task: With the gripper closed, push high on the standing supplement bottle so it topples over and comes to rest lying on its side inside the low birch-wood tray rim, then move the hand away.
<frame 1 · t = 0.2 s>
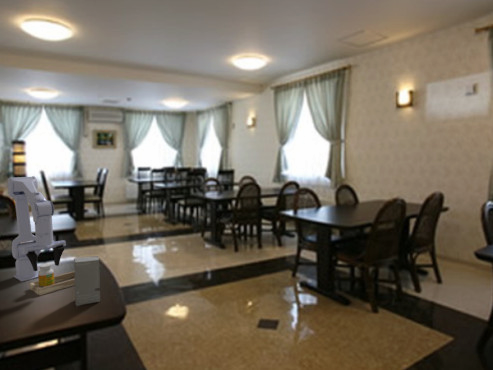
hand: (46, 267, 131), 10 cm above the table, tool pointing down, fingers open, 7 cm apart
supplement bottle: (47, 289, 136), resting in tray
tray: (60, 284, 140), on the table
skincare box: (88, 301, 125), on the table
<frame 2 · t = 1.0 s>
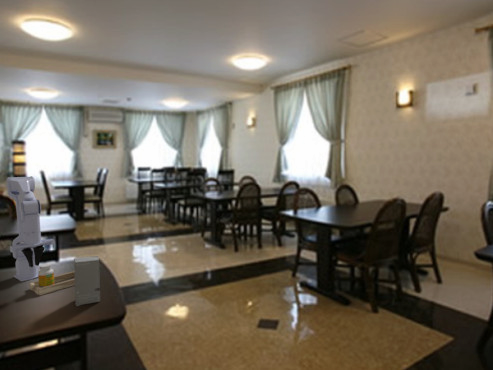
hand: (34, 265, 132), 10 cm above the table, tool pointing down, fingers closed
nothing on the table moved.
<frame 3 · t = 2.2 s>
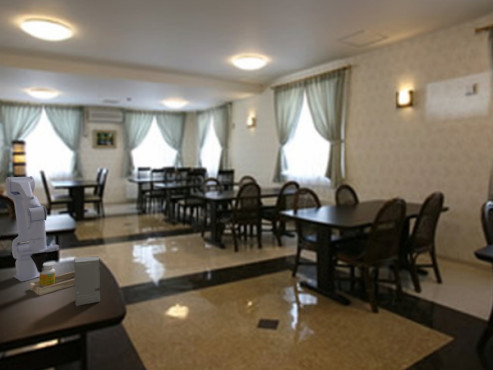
hand: (39, 271, 133), 8 cm above the table, tool pointing down, fingers closed, pressing on supplement bottle
supplement bottle: (47, 288, 136), resting in tray, touching gripper
everything else where it was.
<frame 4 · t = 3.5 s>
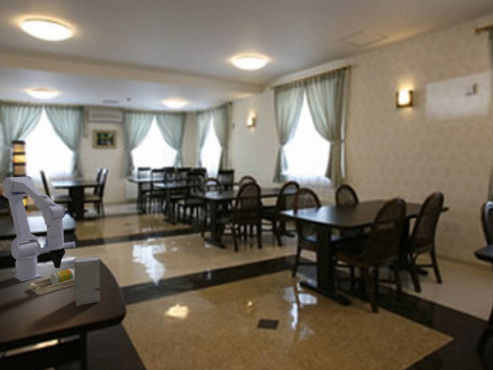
hand: (57, 267, 139), 7 cm above the table, tool pointing down, fingers closed
supplement bottle: (52, 280, 138), point 3 cm above the table
everything else where it was.
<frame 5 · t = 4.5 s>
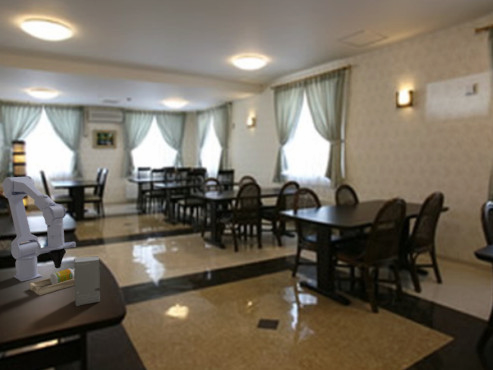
hand: (57, 267, 139), 7 cm above the table, tool pointing down, fingers closed
nothing on the table moved.
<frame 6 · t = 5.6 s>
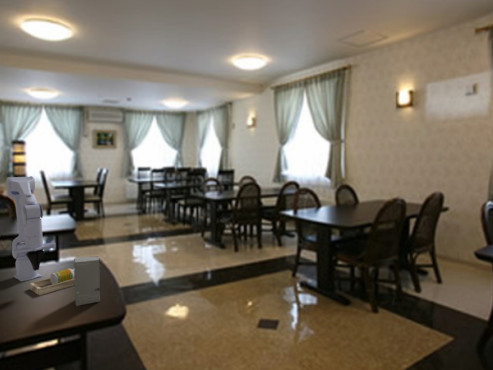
hand: (36, 269, 133), 9 cm above the table, tool pointing down, fingers closed
nothing on the table moved.
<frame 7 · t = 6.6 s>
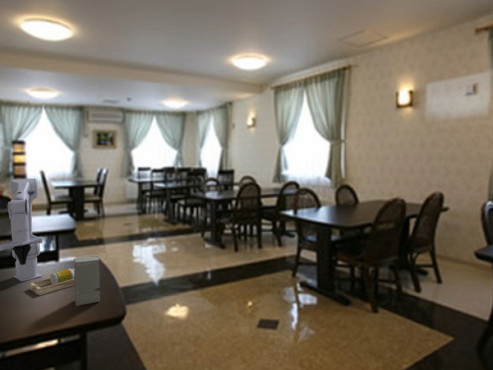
hand: (22, 264, 134), 10 cm above the table, tool pointing down, fingers closed
nothing on the table moved.
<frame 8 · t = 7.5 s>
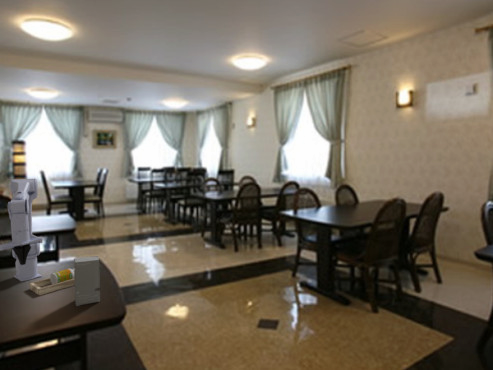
hand: (22, 264, 134), 10 cm above the table, tool pointing down, fingers closed
nothing on the table moved.
at the end: supplement bottle tilted 90°; supplement bottle inside the target area on the tray (2.9 cm from its centre), point 2.7 cm above the tray's base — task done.
